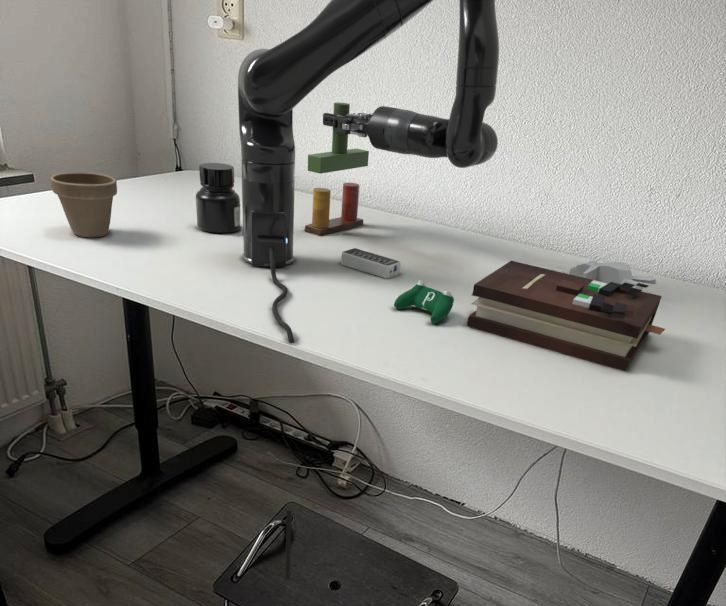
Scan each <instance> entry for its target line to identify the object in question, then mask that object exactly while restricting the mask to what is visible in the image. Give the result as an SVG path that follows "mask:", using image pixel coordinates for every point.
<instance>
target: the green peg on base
mask: <svg viewBox="0 0 726 606" xmlns="http://www.w3.org/2000/svg"><path fill="white" fill-rule="evenodd" d="M350 106H351V104H350V103H347V102H334V103H333V113H332V114H336V115H338V114H341V115H344V116H346V115H347V114H350V108H351V107H350ZM331 139H332V141H331V151H326V152H319V153H311V154H310V153H309V154H308V155H307V171H308V172H312V173H315V174H320V175H321V174H327V173H334V172H339V171H345V170H352V169H359V168H365V167H369V154H370V151H369V150H366V149H361V148H348V144H349V134H348V135H346V134H344V133H341V132H338V131H334V130H333V129H332V137H331Z"/></svg>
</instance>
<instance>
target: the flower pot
mask: <svg viewBox="0 0 726 606" xmlns="http://www.w3.org/2000/svg"><path fill="white" fill-rule="evenodd" d="M117 183H118V181H117V179H116V178H115V177H112V176H110V175H107V174H101V173H96V172H95V173H94V172H61V173H56V174H53V175H51V177H50V184H51V189H52V192H53V194H55V195H57V197H58V199H59V202H60V204H61V207H62V209H63V212H64V214H65V217H66V220H67V222H68V225H69V228H70V229H71V233H73V234H74V235H75V236H77V237H82V238H102V237H104V236H106V235H108V233H109V231H110V225H111V218H112V211H113V209H112V208H113V201H114V200H113V199H114V196H117V194H118V184H117Z"/></svg>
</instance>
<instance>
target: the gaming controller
mask: <svg viewBox="0 0 726 606" xmlns="http://www.w3.org/2000/svg"><path fill="white" fill-rule="evenodd" d="M454 302H455V298H454V296H453V295H452V293H451V292H450V291H449V290H448V289H445V290H444V292H443V291H440V290H438V289H434V288H432V287H429V286H427V285H426V284H425V283H424V282H423V281H422V280H421V279H420V280H418V281H417V283H416V284H415V285H413V287H412V288H410V289H408V290H407V291H404V292H402V293H401V294H400V295H398V296H397V298H396V299H395V301H394V302H393V307H394V308H395V309H396V310H404V309H408V308H410V307H413V306H414V307H416V309H419V310H424V311H427V312H429V313H430V314H431V316H430V323H432V324H434V325H436V324H438V323H439V322H441V321H442V320H444V319H445V318H446V317H447V316H448V315H449V313H451V310H452V309H453V306H454Z"/></svg>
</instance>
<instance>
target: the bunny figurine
mask: <svg viewBox="0 0 726 606" xmlns="http://www.w3.org/2000/svg"><path fill="white" fill-rule="evenodd" d="M569 274H570V275H575V276H579V277H583V278H587V279H592V280H596V281H600V282H604V283H610V282H614V283H618V284H623V283H625V282H626V283H630V284H633V285H635V286H633V287H632V288H636V289H640V290H642V291H643V288H644V287H640V286H637V285H636V284H638V283H641V284H647V285H649V284H650V285H657V277H655V276H653V275H652V276H651V275H633V274H632V270H631V265H630V264H628V263H625V262H620V261H611V262H602V263H601V262H598V261H597V260H590V261H587V262H584V263H581V264H577V265H576V266H572V267H570V268H569Z"/></svg>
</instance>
